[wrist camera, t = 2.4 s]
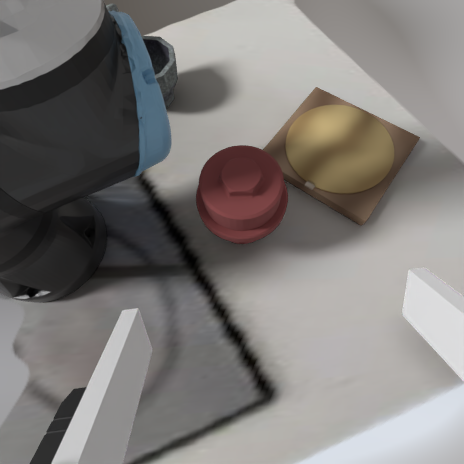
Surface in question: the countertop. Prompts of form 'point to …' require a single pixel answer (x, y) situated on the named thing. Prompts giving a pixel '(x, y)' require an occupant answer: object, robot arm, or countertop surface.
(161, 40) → the mortar and pestle
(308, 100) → the marked board
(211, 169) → the mechanical component
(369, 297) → the countertop surface
